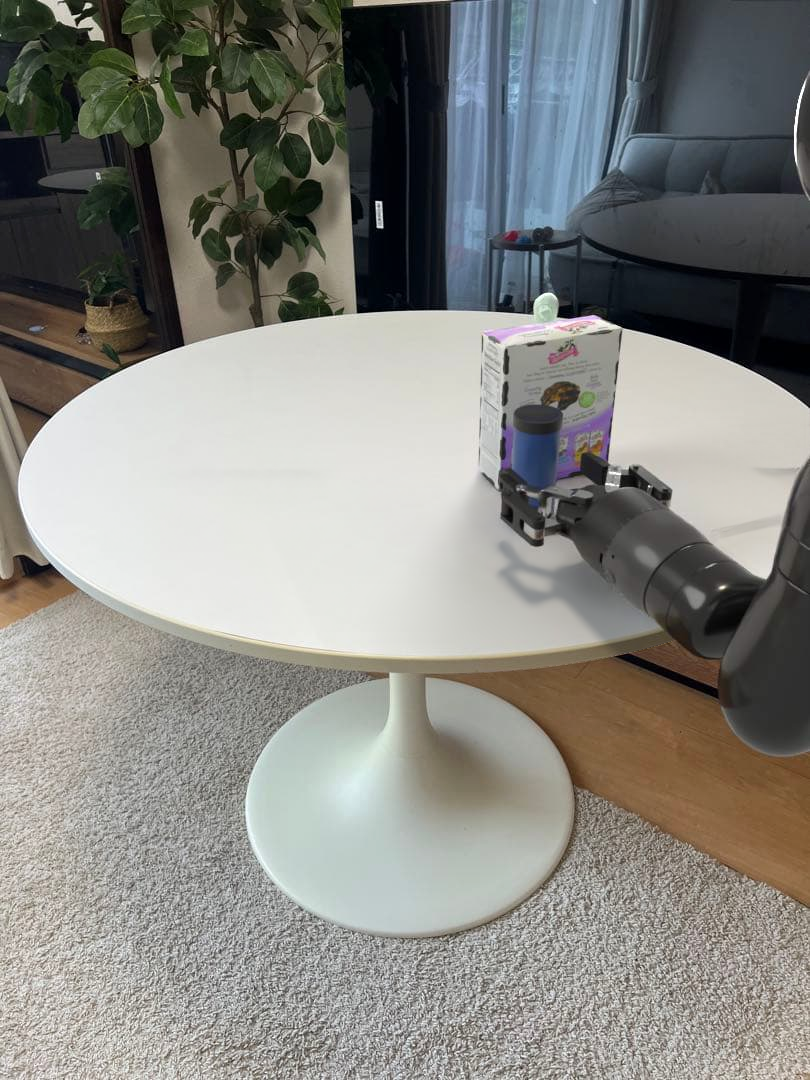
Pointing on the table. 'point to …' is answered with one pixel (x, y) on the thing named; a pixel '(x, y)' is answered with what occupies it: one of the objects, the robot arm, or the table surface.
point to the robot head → (545, 308)
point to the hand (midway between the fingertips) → (544, 468)
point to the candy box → (549, 388)
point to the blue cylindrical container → (537, 445)
